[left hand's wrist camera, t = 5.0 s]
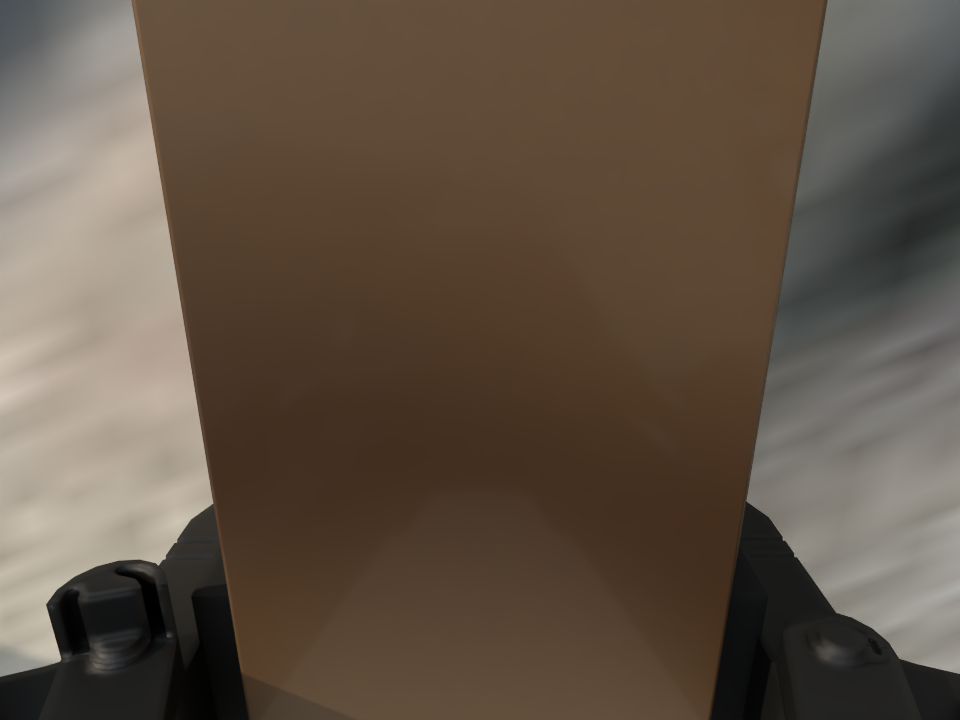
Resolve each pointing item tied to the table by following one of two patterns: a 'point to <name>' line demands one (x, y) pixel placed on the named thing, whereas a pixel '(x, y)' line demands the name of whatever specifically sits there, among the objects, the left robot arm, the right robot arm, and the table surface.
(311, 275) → the bar
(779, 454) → the table surface
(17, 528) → the table surface
